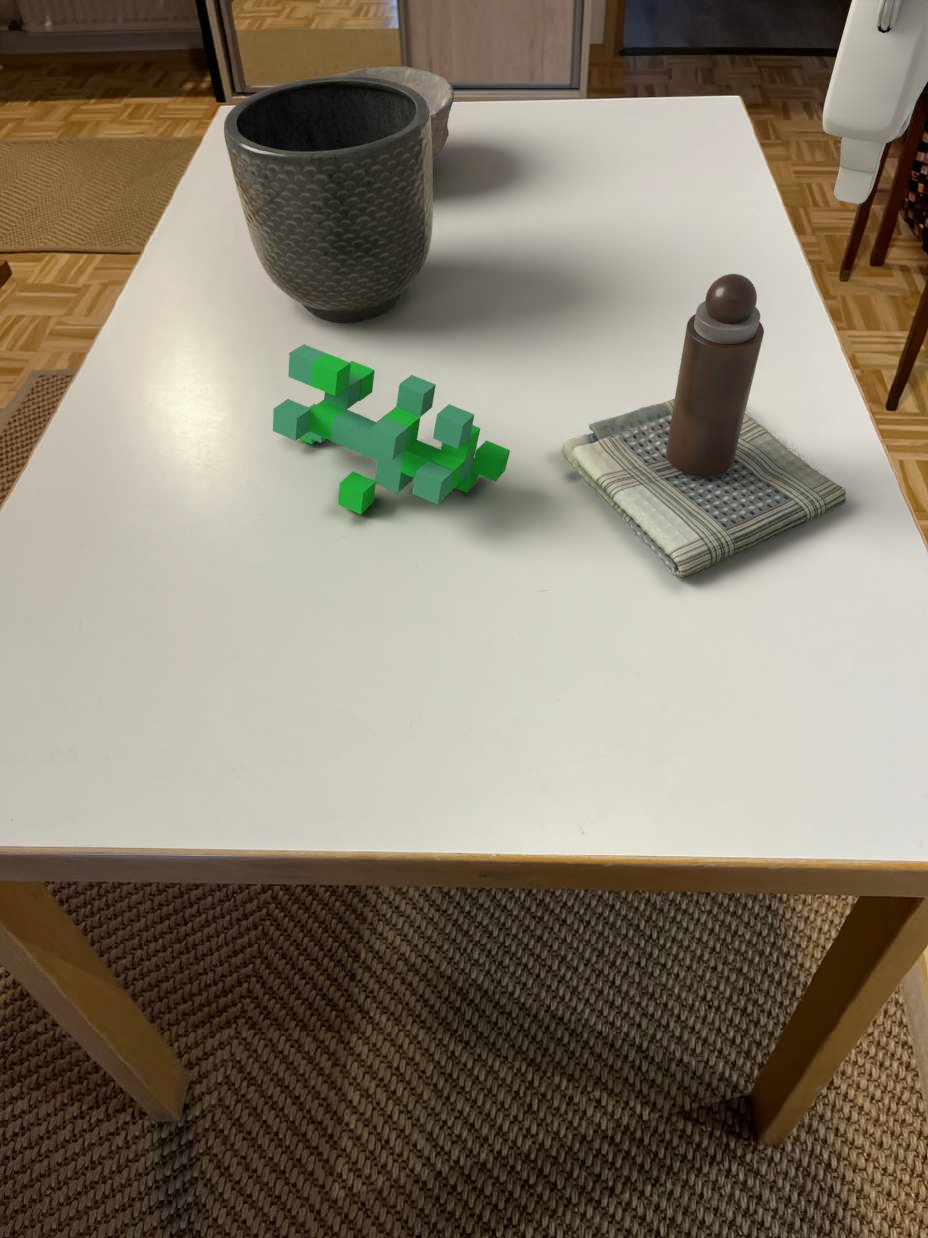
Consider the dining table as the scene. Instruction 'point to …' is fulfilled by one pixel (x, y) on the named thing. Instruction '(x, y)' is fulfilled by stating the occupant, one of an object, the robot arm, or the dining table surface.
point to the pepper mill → (715, 378)
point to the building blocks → (386, 432)
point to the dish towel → (698, 489)
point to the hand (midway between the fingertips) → (871, 163)
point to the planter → (336, 190)
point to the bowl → (427, 86)
